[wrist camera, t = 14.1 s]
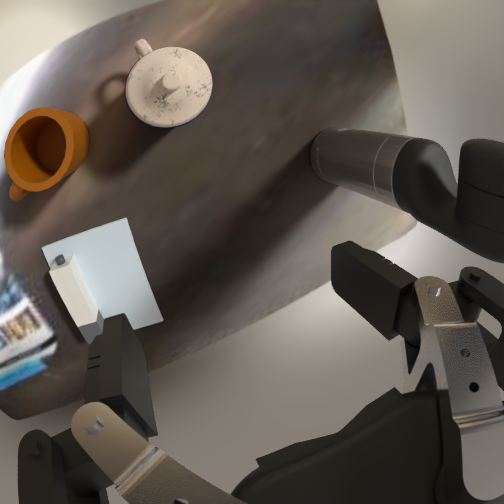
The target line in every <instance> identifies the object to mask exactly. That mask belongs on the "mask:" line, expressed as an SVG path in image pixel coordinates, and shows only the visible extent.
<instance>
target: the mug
mask: <svg viewBox="0 0 504 504" xmlns="http://www.w3.org/2000/svg"><path fill="white" fill-rule="evenodd" d="M89 142H90V140H89V131H88V129H87V127H86V124H85V122H84V121H83V120H82V119H81V118H80V117H79V116H78V115H75V114H73V113H71V112H67V111H63V110H58V109H53V108H36V109H34V110H31V111H28V112H27V113H25V114H24V115H23V116H22V117H20V118H19V119H18V120H17V121H16V123H15V124H14V125H13V127H12V128H11V130H10V132H9V134H8V137H7V140H6V142H5V151H4V159H5V165H6V169H7V171H8V173H9V176H10V178H11V179H12V180H13V183H12V185H11V188H10V192H9V195H10V198H11V199H12V200H13V201H19V200H21V199H22V198H24V197H25V196H26V195H27V194H28V193H29V192H30V191H37V192H39V191H42V190H45V189H48V188H50V187H52V186H53V185H54V184H56V183H57V182H59V181H60V180H62V179H63V178H64V177H66V176H67V175H69V174H70V173H72V172H73V171H75V170H76V169H77V168H78V167H79V166H80V165H81V164H82V163H83V161H84V159H85V157H86V155H87V153H88V148H89Z"/></svg>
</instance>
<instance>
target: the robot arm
mask: <svg viewBox="0 0 504 504" xmlns="http://www.w3.org/2000/svg"><path fill="white" fill-rule="evenodd" d="M459 159H460V160H459V174H458V175H459V176H458V185H457V183H456V180H455V177H454V174H453V170H452V167H451V163H450V160H449V157H448V155H447V153H446V151H445V150H444V149H443V147H442V146H441V145H439V144H438V143H436V142H434V141H432V140H428V139H422V138H415V137H410V136H404V135H396V134H389V133H382V132H374V131H365V130H355V129H345V128H328V129H325V130H323V131H322V132H320V133H319V134H318V135H317V136H316V138H315V140H314V141H313V144H312V146H311V152H310V160H311V165H312V167H313V170H314V171H315V173H316V174H317V175H318V176H319V177H320V178H321V179H323V180H324V181H327V182H330V183H333V184H336V185H338V186H341V187H344V188H346V189H349V190H352V191H354V192H357V193H360V194H362V195H365V196H368V197H370V198H373V199H375V200H378V201H380V202H383V203H385V204H388V205H391V206H393V207H395V208H398V209H400V210H403V211H405V212H407V213H410V214H411V215H412V216H413V217H414V218H415V219H416V220H418V221H420V222H421V223H423V224H425V225H427V226H429V227H431V228H433V229H434V230H436V231H438V232H440V233H442V234H443V235H445V236H447V237H448V238H450V239H452V240H453V241H455V242H457V243H458V244H460V245H462V246H463V247H465V248H467V249H469V250H470V251H472V252H474V253H476V254H478V255H480V256H482V257H484V258H487V259H489V260H492V261H495V262H499V263H504V143H502V142H498V141H494V140H488V139H471V140H468V141H466V142H465V143H463V145H462V147H461V150H460V158H459ZM331 283H332V286H333V289H334V290H335V292H336V293H337V294H338V295H339V296H340V297H341V298H342V299H343V300H345V301H346V302H347V303H348V304H349V305H350V306H351V307H352V308H353V309H355V310H356V311H357V312H358V313H359V314H360V315H361V316H362V317H363V318H365V319H366V320H367V321H368V322H369V323H370V324H371V325H372V326H373V327H375V328H376V329H377V330H378V331H379V332H380V333H381V334H382V335H383V336H384V337H385V338H386V339H388V340H389V341H390V340H391V339H393V338H394V337H396V336H397V335H399V334H400V335H401V336H402V339H401V350H402V359H403V370H404V389H403V394H401V393H400V392H399V391H398V390H397V389H396V388H395V387H394V388H393V389H391V390H390V391H388V392H387V393H385V394H384V395H382V396H381V397H379V398H378V399H376V400H375V401H373V402H371V403H370V404H368V405H366V407H365V408H363V409H362V410H361V411H360V412H359V413H358V414H357V415H356V416H355V417H354V418H353V419H352V420H351V421H350V422H349V423H348V424H347V425H346V426H345V427H344V428H343V429H342V430H340V431H339V432H337V433H335V434H331V435H328V436H324V437H320V438H316V439H312V440H307V441H303V442H298V443H294V444H292V445H289V446H287V447H285V448H283V449H280V450H278V451H275V452H273V453H270V454H268V455H265V456H262V457H260V458H257V459H256V461H257V463H258V465H259V467H258V468H257V469H255V470H254V471H252V472H251V473H250V474H249V475H247V476H246V477H245V478H244V479H243V480H242V481H241V482H240V483H239V484H238V485H237V486H236V487H235V489H234V490H233V491H232V493H231V495H230V494H228V493H226V492H224V491H223V490H221V489H219V488H217V487H216V486H214V485H212V484H211V483H209V482H207V481H206V480H204V479H202V478H201V477H199V476H198V475H196V474H194V473H193V472H191V471H190V470H188V469H187V468H185V467H184V466H182V465H181V464H180V463H178V462H177V461H175V460H174V459H172V458H171V457H170V456H168V455H167V454H166V453H164V452H163V451H161V450H160V449H158V448H157V447H156V448H155V447H154V446H153V445H151V444H150V443H149V441H148V437H152V436H157V435H158V433H157V428H156V423H155V417H154V411H153V405H152V399H151V393H150V386H149V378H148V370H147V362H146V357H145V353H144V350H143V348H142V345H141V343H140V341H139V340H138V338H137V336H136V334H135V332H134V330H133V328H132V326H131V324H130V322H129V320H128V318H127V316H126V315H125V314H124V313H121V314H118V315H114V316H111V317H108V318H105V319H104V322H103V331H102V334H101V335H97V336H95V338H94V340H93V342H92V343H91V345H90V347H89V355H88V359H89V361H88V364H87V369H88V370H87V375H86V388H85V405H84V406H82V407H81V408H79V410H77V412H76V413H75V414H74V416H73V418H72V422H71V428H69V429H67V430H65V431H64V432H61V433H59V434H57V435H55V436H53V437H50V436H49V435H47V434H46V433H45V432H43V431H41V430H32V431H30V432H28V433H27V434H26V435H24V437H23V438H22V440H21V442H20V444H19V449H18V496H19V504H109V501H108V496H107V491H106V488H107V487H109V486H111V485H113V484H116V490H117V492H118V493H119V494H120V495H121V496H122V497H123V498H124V499H125V500H126V501H127V502H128V503H129V504H504V401H502V400H501V396H500V392H499V388H498V386H499V387H500V388H502V390H503V391H504V284H503V283H502V282H500V281H499V280H497V279H496V278H494V277H493V276H491V275H490V274H488V273H487V272H485V271H484V270H482V269H479V268H477V267H465V268H463V269H462V270H461V273H460V277H459V280H458V281H455V282H451V283H447V282H445V281H444V280H442V279H440V278H437V277H433V276H425V277H421V278H419V279H417V278H416V277H415V276H413V275H412V274H410V273H409V272H407V271H405V270H404V269H402V268H400V267H399V266H397V265H396V264H393V263H392V262H391V261H390V260H388V259H385V257H383V256H381V255H380V254H378V253H377V252H374V251H371V250H368V249H364V248H362V247H361V246H359V245H358V244H356V243H354V242H353V241H347V242H344V243H341V244H338V245H335V246H333V247H332V250H331ZM482 308H483V309H484V310H485V311H487V312H488V313H489V314H490V315H492V316H493V317H494V318H495V319H497V320H498V321H499V322H500V324H501V326H502V333H501V335H500V337H499V339H497V338H496V337H495V336H494V335H493V334H491V333H490V332H489V331H488V330H487V329H485V328H484V327H483V326H482V325H481V324H479V323H478V322H477V319H478V317H479V314H480V312H481V309H482Z"/></svg>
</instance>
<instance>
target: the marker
mask: <svg viewBox="0 0 504 504" xmlns="http://www.w3.org/2000/svg"><path fill="white" fill-rule="evenodd" d="M49 273H50V275H51V277H52V280H53V282H54V284H55V286H56V288H57V290H58V292H59V294H60V296H61V298H62V300H63V301H64V303H65V305H66V307H67V309H68V311H69V313H70V314H71V316H72V318H73V320H74V321H75V323H76V325H77V327H78V328H79V330H80V332H81V333H82V335H83V337H84V338H85V340H86V341H87V343H88V344H91V343H92V342H93V340H94V338H95V336H97V335H101V334H102V331H103V322H104V318H103V317H102V315H101V313H100V311H99V309H98V307H97V305H96V303H95V301H94V299H93V297H92V295H91V293H90V290H89V288H88V286H87V284H86V282H85V280H84V277H83V275H82V273H81V271H80V268H79V266H78V264H77V261H76V259H75V257H74V255H71V256H68V257H65V258H64V256H63V254H60V255H58V256H56V257H55V262H54V264H53V266H52V267H51V269H50V271H49Z"/></svg>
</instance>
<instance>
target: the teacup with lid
mask: <svg viewBox="0 0 504 504" xmlns="http://www.w3.org/2000/svg"><path fill="white" fill-rule="evenodd" d="M134 46H135V50H136V53H137V55H138V57H139V60H138V61H137V62H136V63H135V65H134V66H133V67H132V69H131V70H130V72H129V74H128V76H127V79H126V83H125V99H126V103H127V105H128V107H129V109H130V111H131V112H132V114H133V115H134V116H135V117H136V118H137V119H138V120H140V121H141V122H143V123H144V124H146V125H148V126H151V127H155V128H162V129H169V128H175V127H179V126H182V125H185V124H187V123H189V122H191V121H192V120H194V119H195V118H196V117H197V116H199V115H200V114H201V113H202V111H203V110H204V109H205V107H206V106H207V104H208V102H209V100H210V97H211V94H212V88H213V81H212V75H211V72H210V70H209V68H208V66H207V64H206V63H205V62H204V60H203V59H202V58H201V57H199V56H198V55H197V54H195V53H194V52H192V51H190V50H187V49H184V48H179V47H165V48H160V49H157V50H154V51H153V50H152V49H151V47H150V46H149V44H148V43H147V41H146V40H144V39H141V40H139V41H137V42H135V45H134Z"/></svg>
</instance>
